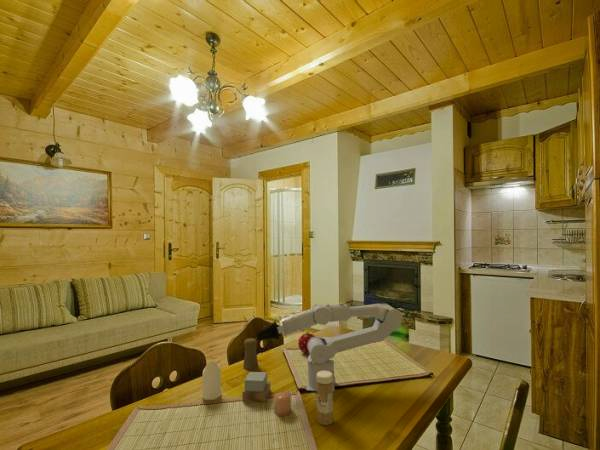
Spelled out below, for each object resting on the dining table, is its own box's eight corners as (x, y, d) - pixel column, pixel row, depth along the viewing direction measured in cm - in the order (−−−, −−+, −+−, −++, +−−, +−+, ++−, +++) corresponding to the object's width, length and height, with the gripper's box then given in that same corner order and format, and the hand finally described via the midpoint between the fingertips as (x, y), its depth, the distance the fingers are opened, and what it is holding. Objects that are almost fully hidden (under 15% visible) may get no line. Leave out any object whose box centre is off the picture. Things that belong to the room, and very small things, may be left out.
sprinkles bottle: (314, 421, 89) (313, 374, 89) (323, 414, 92) (322, 368, 92) (327, 428, 86) (326, 378, 86) (336, 420, 89) (335, 372, 90)
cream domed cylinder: (218, 355, 108) (222, 360, 103) (219, 390, 108) (223, 397, 103) (200, 358, 105) (203, 364, 100) (201, 394, 105) (204, 402, 100)
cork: (255, 370, 123) (254, 342, 123) (240, 369, 124) (240, 341, 124) (260, 363, 129) (259, 337, 129) (246, 363, 130) (246, 336, 130)
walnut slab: (270, 391, 107) (270, 381, 107) (265, 403, 99) (265, 392, 99) (248, 390, 108) (248, 380, 108) (242, 402, 100) (242, 391, 100)
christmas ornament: (318, 357, 134) (317, 333, 135) (298, 357, 134) (297, 333, 135) (317, 349, 143) (317, 327, 143) (298, 349, 143) (298, 327, 143)
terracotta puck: (292, 407, 97) (291, 392, 97) (289, 416, 92) (289, 401, 92) (276, 406, 97) (275, 391, 97) (273, 415, 92) (272, 400, 92)
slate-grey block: (267, 382, 106) (266, 372, 106) (263, 391, 100) (263, 380, 100) (249, 382, 106) (249, 371, 107) (244, 391, 100) (244, 380, 101)
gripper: (292, 310, 117) (256, 323, 115) (292, 312, 103) (252, 325, 101) (297, 329, 115) (262, 342, 114) (299, 333, 101) (259, 347, 100)
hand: (258, 336), depth 107 cm, fingers open, 7 cm apart
